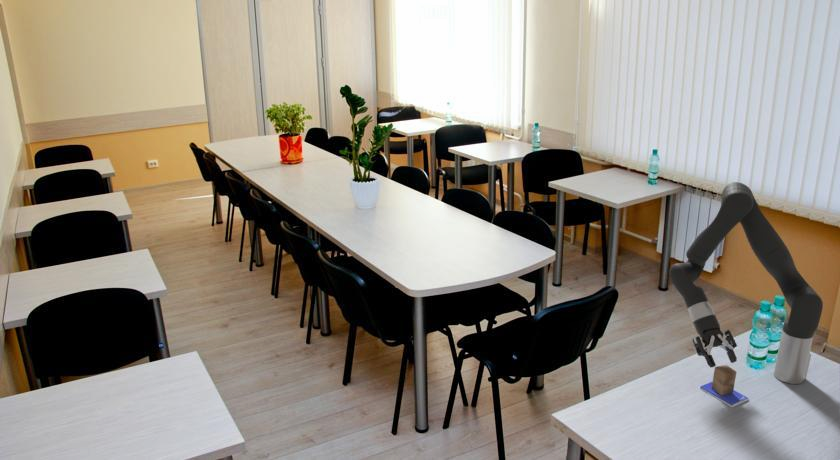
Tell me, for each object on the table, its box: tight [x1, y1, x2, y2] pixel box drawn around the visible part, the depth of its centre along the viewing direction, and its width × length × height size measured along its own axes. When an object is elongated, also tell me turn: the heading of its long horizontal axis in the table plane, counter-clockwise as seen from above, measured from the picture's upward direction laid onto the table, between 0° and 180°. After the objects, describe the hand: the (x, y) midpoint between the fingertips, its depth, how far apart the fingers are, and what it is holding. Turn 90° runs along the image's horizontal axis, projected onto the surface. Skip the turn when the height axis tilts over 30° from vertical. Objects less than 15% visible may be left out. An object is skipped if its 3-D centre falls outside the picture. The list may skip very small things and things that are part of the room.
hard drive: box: [699, 380, 750, 408], centre depth 227 cm, size 2×8×12 cm
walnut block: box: [711, 364, 737, 396], centre depth 226 cm, size 5×5×8 cm
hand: (723, 364), depth 225 cm, fingers open, 8 cm apart
